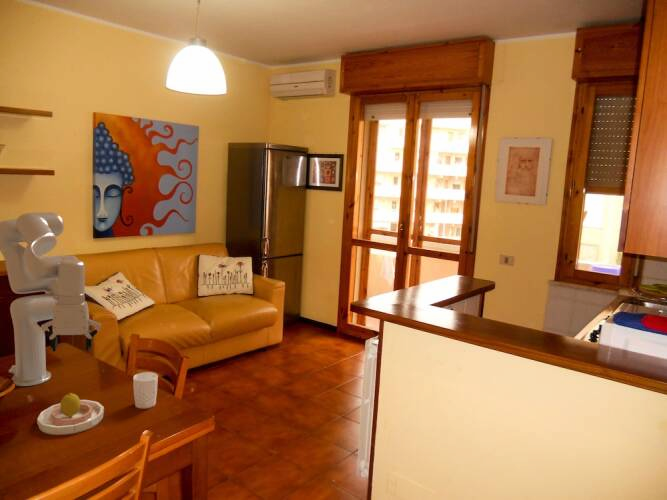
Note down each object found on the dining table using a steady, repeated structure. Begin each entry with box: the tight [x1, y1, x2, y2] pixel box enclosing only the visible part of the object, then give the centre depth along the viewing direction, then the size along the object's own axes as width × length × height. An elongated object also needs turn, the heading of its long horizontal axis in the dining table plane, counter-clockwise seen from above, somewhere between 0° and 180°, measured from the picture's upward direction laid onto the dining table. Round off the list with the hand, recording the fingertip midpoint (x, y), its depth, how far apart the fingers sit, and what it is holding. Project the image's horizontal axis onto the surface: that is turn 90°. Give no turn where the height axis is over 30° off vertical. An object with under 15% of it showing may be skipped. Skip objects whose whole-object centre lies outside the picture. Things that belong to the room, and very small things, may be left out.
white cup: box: [132, 371, 159, 409], centre depth 169 cm, size 8×8×10 cm
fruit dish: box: [36, 399, 105, 436], centre depth 156 cm, size 18×18×3 cm
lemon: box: [60, 392, 81, 417], centre depth 155 cm, size 6×6×8 cm
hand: (71, 349), depth 160 cm, fingers open, 9 cm apart
